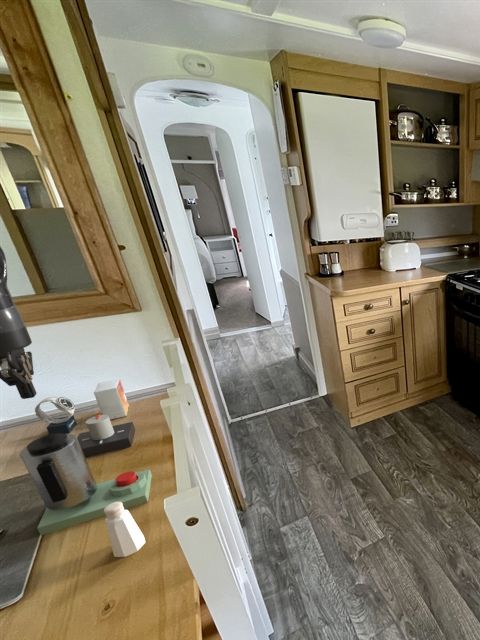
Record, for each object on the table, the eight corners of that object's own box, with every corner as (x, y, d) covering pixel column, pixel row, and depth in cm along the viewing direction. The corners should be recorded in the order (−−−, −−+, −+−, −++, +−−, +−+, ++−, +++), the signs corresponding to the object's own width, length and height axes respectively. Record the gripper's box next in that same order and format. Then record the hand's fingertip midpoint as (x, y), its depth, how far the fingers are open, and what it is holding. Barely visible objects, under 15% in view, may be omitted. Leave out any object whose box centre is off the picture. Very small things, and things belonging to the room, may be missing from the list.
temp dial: (113, 436, 108) (106, 419, 106) (90, 442, 106) (83, 424, 103) (115, 428, 112) (109, 412, 110) (93, 434, 109) (86, 416, 107)
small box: (127, 416, 124) (116, 388, 120) (104, 421, 121) (93, 392, 117) (130, 406, 130) (120, 378, 126) (108, 410, 127) (97, 382, 123)
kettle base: (40, 535, 80) (33, 521, 79) (55, 503, 89) (48, 489, 87) (148, 502, 90) (143, 489, 88) (152, 475, 98) (147, 463, 97)
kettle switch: (116, 489, 88) (114, 483, 88) (118, 480, 91) (116, 474, 90) (136, 483, 90) (134, 477, 90) (138, 475, 93) (135, 469, 92)
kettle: (37, 521, 79) (7, 463, 73) (52, 492, 87) (25, 437, 81) (92, 505, 83) (67, 449, 78) (100, 478, 91) (78, 426, 85)
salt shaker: (106, 552, 77) (87, 511, 73) (136, 532, 82) (120, 493, 77) (122, 562, 75) (104, 520, 71) (152, 541, 80) (136, 500, 76)
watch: (78, 431, 115) (65, 400, 111) (42, 438, 112) (27, 405, 108) (85, 422, 120) (72, 391, 116) (50, 428, 116) (36, 397, 112)
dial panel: (74, 460, 103) (70, 451, 102) (82, 441, 110) (79, 432, 109) (131, 446, 109) (128, 437, 108) (135, 429, 117) (132, 421, 116)
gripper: (-14, 321, 85) (16, 389, 92) (-42, 339, 75) (-6, 414, 82) (33, 317, 89) (59, 382, 96) (13, 334, 79) (43, 405, 86)
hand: (29, 396), depth 89 cm, fingers closed
